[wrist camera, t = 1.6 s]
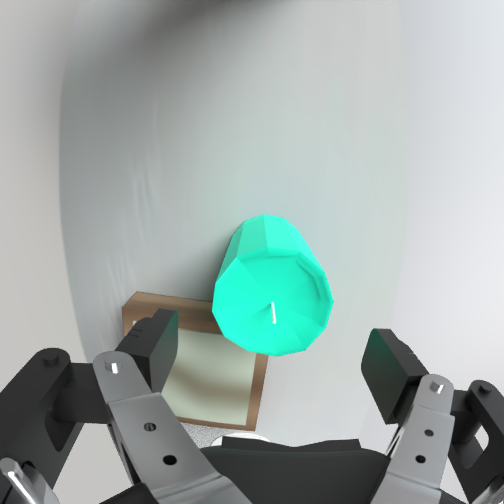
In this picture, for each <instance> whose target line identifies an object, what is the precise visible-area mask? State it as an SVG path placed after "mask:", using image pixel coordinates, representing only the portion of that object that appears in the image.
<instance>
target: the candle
mask: <svg viewBox="0 0 504 504" xmlns="http://www.w3.org/2000/svg"><path fill="white" fill-rule="evenodd" d="M333 302H334V301H333V297H332V294H331V291H330V287H329V284H328V281H327V278H326V275H325V272H324V271H323V269H322V267H321V266H320V264H319V263H318V261H317V259H316V258H315V256H314V255H313V253H312V252H311V250H310V248H309V247H308V245H307V244H306V242H305V241H304V239H303V237H302V236H301V234H300V233H299V231H298V230H297V229H296V228H295V227H294V226H292V225H291V224H290V223H289V222H288V221H286V220H285V219H284V218H283V217H277V216H271V215H265V214H263V215H260V216H257V217H254V218H252V219H249V220H246V221H244V223H243V224H242V225H241V226H240V228H239V229H238V230H237V231H236V232H235V234H234V235H233V236H232V239H231V242H230V244H229V247H228V250H227V253H226V255H225V258H224V261H223V263H222V266H221V269H220V272H219V275H218V277H217V280H216V283H215V290H214V298H213V307H212V313H213V315H214V317H215V319H216V321H217V323H218V325H219V327H220V329H221V331H222V333H223V335H224V337H226V338H228V339H229V340H231V341H232V342H234V343H236V344H237V345H239V346H240V347H242V348H244V349H245V350H247V351H250V352H255V353H260V354H266V355H271V356H282V355H286V354H291V353H295V352H300V351H304V350H306V349H307V348H308V347H309V346H310V345H311V344H312V343H313V341H314V340H315V339H316V338H317V337H318V336H319V335H320V334H321V333H322V332H323V331H324V330H325V328H326V325H327V322H328V319H329V316H330V312H331V309H332V306H333Z"/></svg>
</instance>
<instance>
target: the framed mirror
mask: <svg viewBox="0 0 504 504" xmlns="http://www.w3.org/2000/svg"><path fill="white" fill-rule="evenodd" d="M159 307H161V308H168V309H174V310H177V311H178V350H177V356H176V359H175V361H174V363H173V366H172V368H171V371H170V373H169V375H168V378H167V380H166V383H165V385H164V388H163V390H162V392H161V395H162V396H163V398H164V399H165V401H166V402H167V404H168V405H169V407H170V408H171V410H172V411H173V413H174V414H175V416H176V417H177V419H178V420H179V422H184V423H190V424H196V425H203V426H210V427H218V428H226V429H236V430H246V431H255V428H256V423H257V417H258V412H259V406H260V401H261V395H262V390H263V384H264V378H265V373H266V367H267V361H268V355H266V354H260V353H255V352H250V351H247V350H245V349H244V348H242V347H240V346H239V345H237V344H236V343H234V342H232V341H231V340H229V339H228V338H226V337H224V335H223V333H222V331H221V329H220V327H219V325H218V323H217V321H216V319H215V317H214V315H213V313H212V307H213V302H209V301H201V300H193V299H186V298H179V297H171V296H164V295H157V294H151V293H144V292H138V291H137V292H136V293H135V294H134V295H133V296H132V297H131V298H130V299H129V301H128V302H127V303H126V304H125V305H124V306H123V307H122V316H123V328H124V337H125V336H126V335H127V333H128V332H129V331H130V330H131V328H132V327H133V326H134V324H135V323H136V322H137V321H139V320H141V319H143V318H144V317H149V318H152V317H153V315H154V314H155V312H156V311H157V310H158V308H159Z"/></svg>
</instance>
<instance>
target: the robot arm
mask: <svg viewBox="0 0 504 504" xmlns="http://www.w3.org/2000/svg"><path fill="white" fill-rule="evenodd" d="M177 350H178V311H177V310H174V309H168V308H161V307H159V308H158V310H157V311H156V312H155V314H154V315H153V317H152V318H149V317H144V318H143V319H141V320H139V321H137V322H136V323H135V324H134V326H133V327H132V328H131V330H130V331H129V332H128V333H127V335H126V336H125V337H124V339H123V340H122V341H121V343H120V344H119V345H118V347H117V348H116V349H115V351H108V352H104V353H101V354H99V355H98V356H96V357H95V358H94V360H93V363H71V360H70V356H69V354H68V353H67V352H66V351H64V350H62V349H59V348H47V349H43V350H41V351H39V352H37V353H36V354H35V355H34V356H33V357H32V358H31V359H30V360H29V362H27V364H26V365H25V366H24V367H23V368H22V369H21V370H20V371H19V372H18V373H17V374H16V376H15V377H14V378H13V379H12V380H11V381H10V382H9V384H8V385H7V386H6V387H5V388H4V389H3V390H2V392H1V393H0V504H60V503H59V500H58V498H57V496H56V495H55V493H54V492H53V491H52V490H53V487H54V485H55V483H56V481H57V479H58V476H59V474H60V472H61V470H62V468H63V466H64V463H65V462H66V459H67V457H68V455H69V453H70V451H71V449H72V447H73V445H74V443H75V441H76V439H77V437H78V435H79V433H80V431H81V429H82V427H83V425H84V423H99V424H107V427H108V430H109V432H110V435H111V437H112V440H113V442H114V444H115V447H116V449H117V451H118V453H119V456H120V458H121V460H122V462H123V465H124V467H125V470H126V472H127V474H128V477H129V479H130V481H131V483H132V485H133V486H132V487H130V488H128V489H126V490H125V491H123V492H121V493H119V494H117V495H115V496H113V497H111V498H109V499H107V500H106V501H104V502H101V503H99V504H466V503H464V502H462V501H460V500H459V499H457V498H455V497H453V496H452V495H450V494H448V493H446V492H445V491H443V490H441V489H440V488H439V486H440V482H441V479H442V475H443V471H444V468H445V464H446V460H447V456H448V458H449V459H450V462H451V464H452V466H453V468H454V470H455V473H456V475H457V477H458V479H459V481H460V483H461V486H462V488H463V491H464V493H465V495H466V497H467V500H468V502H469V504H504V397H503V396H502V395H501V394H500V392H499V391H498V390H497V388H496V387H495V386H493V385H492V384H490V383H489V382H486V381H483V380H475V381H473V382H472V383H471V385H470V387H469V389H468V390H467V391H462V390H454V387H453V384H452V383H451V382H450V381H449V380H448V379H446V378H445V377H443V376H440V375H436V374H429V372H428V371H427V370H426V368H425V367H424V366H423V364H422V363H421V362H420V360H418V358H417V357H416V355H415V354H413V351H412V350H411V349H410V348H409V346H408V345H406V344H405V343H403V342H402V341H400V340H399V339H398V338H397V337H396V336H395V334H394V333H393V332H392V330H391V329H376V328H374V329H373V330H372V331H371V333H370V336H369V339H368V343H367V346H366V349H365V352H364V355H363V358H362V363H361V371H362V374H363V376H364V378H365V381H366V383H367V385H368V387H369V389H370V391H371V393H372V396H373V398H374V400H375V402H376V404H377V406H378V409H379V411H380V413H381V415H382V417H383V420H384V422H385V424H386V425H387V424H396V423H398V428H397V429H396V431H395V433H394V435H393V437H392V439H391V441H390V443H389V445H388V448H387V450H386V452H385V454H382V453H379V452H377V451H373V450H369V449H364V448H361V446H360V443H359V439H350V440H327V441H323V442H319V443H314V444H309V445H304V446H299V447H290V446H285V445H281V444H276V443H272V442H268V441H264V440H260V439H251V438H239V437H229V436H222V443H221V445H217V446H209V447H204V448H200V449H199V448H198V447H197V445H196V444H195V443H194V441H193V440H192V439H191V437H190V436H189V434H188V433H187V432H186V430H185V429H184V427H183V426H182V424H181V423H180V422H179V420H178V419H177V417H176V416H175V414H174V413H173V411H172V410H171V408H170V407H169V405H168V404H167V402H166V401H165V399H164V398H163V396H162V395H161V392H162V390H163V388H164V385H165V383H166V380H167V378H168V375H169V373H170V371H171V368H172V366H173V363H174V361H175V359H176V356H177ZM481 425H482V426H483V428H484V429H485V431H486V432H487V434H488V436H489V442H488V445H487V447H486V449H485V450H484V451H483V449H482V448H481V446H480V444H479V442H478V441H477V439H476V437H475V436H474V435H475V434H476V433H477V431H478V429H479V428H480V427H481Z"/></svg>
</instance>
